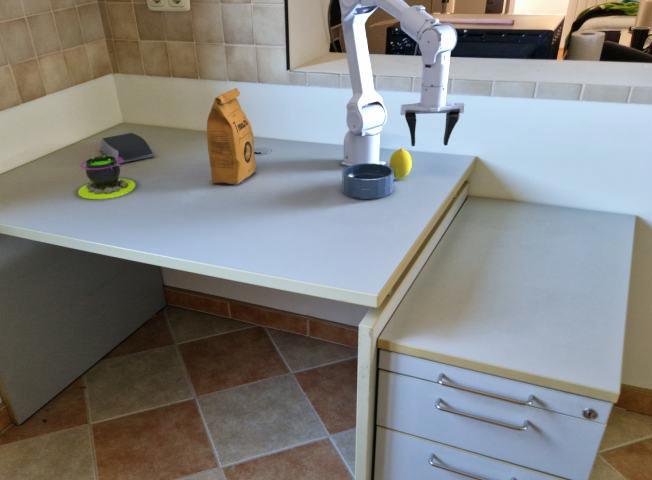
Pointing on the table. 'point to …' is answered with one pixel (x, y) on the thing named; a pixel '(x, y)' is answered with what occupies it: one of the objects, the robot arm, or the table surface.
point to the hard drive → (126, 147)
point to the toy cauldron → (104, 178)
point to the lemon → (401, 163)
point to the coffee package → (229, 140)
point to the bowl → (367, 180)
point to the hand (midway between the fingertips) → (429, 144)
